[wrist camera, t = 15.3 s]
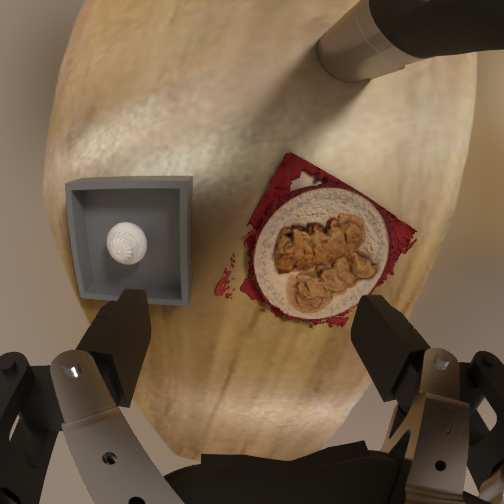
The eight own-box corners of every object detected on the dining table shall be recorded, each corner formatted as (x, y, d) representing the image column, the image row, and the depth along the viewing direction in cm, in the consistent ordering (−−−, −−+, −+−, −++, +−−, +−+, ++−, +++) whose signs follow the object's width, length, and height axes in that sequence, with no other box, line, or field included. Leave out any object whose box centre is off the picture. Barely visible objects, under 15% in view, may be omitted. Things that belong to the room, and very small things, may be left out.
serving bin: (192, 176, 39) (187, 180, 34) (192, 289, 45) (188, 306, 41) (80, 178, 37) (65, 183, 32) (92, 283, 44) (80, 297, 39)
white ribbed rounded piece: (126, 260, 42) (111, 280, 35) (108, 225, 39) (89, 241, 33) (159, 246, 41) (148, 265, 35) (142, 209, 39) (126, 222, 32)
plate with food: (285, 149, 39) (289, 150, 36) (412, 228, 45) (423, 235, 42) (214, 288, 47) (212, 299, 44) (341, 336, 53) (347, 348, 49)
